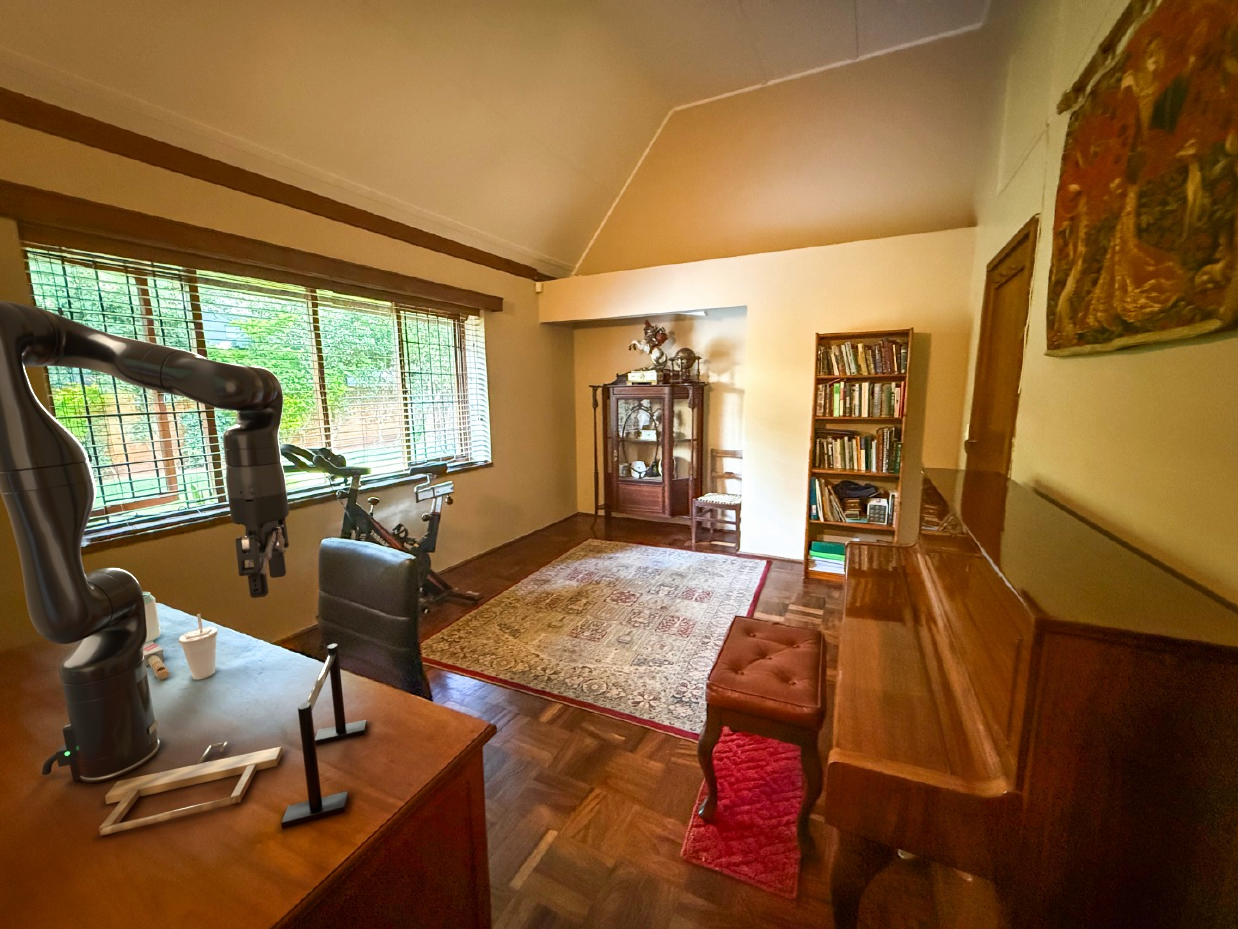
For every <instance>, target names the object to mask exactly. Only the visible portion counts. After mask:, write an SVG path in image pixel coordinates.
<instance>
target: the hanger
mask: <svg viewBox="0 0 1238 929" xmlns="http://www.w3.org/2000/svg"><path fill="white" fill-rule="evenodd" d="M228 745H229V742H228V741H224V742H223V741H222V742H220V743H214V744H209V745H208V746H207V748H206V749H205V751H204V753H203V754H202V756H201V757H199V759H198V761H197V763H196V764H193V765H192V764H191V765H188V766H184V767H178V768H174V769H170V770H164V771H159V772H155V773H150V774H146V775H141V776H136V777H132V778H127V779H122V780H118V781H117V782H116V783H115V784H114V785H113V786H112V788H111V789H110V790H109V791H108V792H107V793H106V794H105V795H104V799H105V804H106V805H109V804H114V803H118V802H119V803H118V804H117V805H116V807H115V808H113V810H112V812H111V813H110V814H109V815H108V816H107V818H106V819H105V820H104V821H103V822H102V824H101V825H100V826H99V827H98V831H99V835H100V836H107V835H110V834H114V833H118V832H122V831H127V830H131V829H135V828H139V827H143V826H148V825H152V824H156V823H159V822H164V821H169V820H174V819H177V818H181V817H185V816H190V815H194V814H198V813H201V812H206V811H209V810H215V809H218V808H223V807H227V806H231V805H234V804H237V803H241V801H242V799H243V797H244V796H245V794H246V791H247V789H248V788H249V786H250V784H251V782H252V780H253V778H254V776H255V774H256V772H257V771H262V770H266V769H269V768H270V769H271V768H274V767H278V764H279V762H280V760H281V758H282V755H283V752H284V751H283V746H277V747H272V748H268V749H262V750H259V751H258V750H257V751H254V752H249V753H244V754H239V755H235V756H231V757H225V758H220V759H216V760H212V761H207V762H204V761H205V759H206V758H207V757H208V755H209V753H210V752H211V750H212V749H217V748H220V749H219V753H223V752H224V751H225V749H226V748H227V746H228ZM238 775H241V776H240V778H239V780H238V782H237V784H236V786H235V787H234V790H233V791H232V792H231V795H230V797H225V798H220V799H216V800H212V801H207V802H203V803H200V804H195V805H191V806H187V807H182V808H179V809H174V810H170V811H166V812H162V813H157V814H153V815H148V816H145V817H141V818H136V819H132V820H127V821H123V822H121V821H122V820H123V818H124V817H125V816H126V815H127V813H128V812H129V811H130V809H131V808H132V807H133V805H134V804H135V803H136V801H137V800H138V799H139V797H140V798H141V797H145V796H149V795H155V794H158V793H162V792H167V791H172V790H175V789H181V788H184V787H189V786H194V785H198V784H203V783H207V782H211V781H216V780H220V779H225V778H230V777H234V776H238Z"/></svg>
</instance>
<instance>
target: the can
mask: <svg viewBox="0 0 1238 929" xmlns="http://www.w3.org/2000/svg"><path fill="white" fill-rule="evenodd" d="M142 592H143V597H144V604H145V615H146V626H147V639H146V642H145V643H148V642H151V641H152V642H154V641H155V640H156V639H157V638H159V637H160V636H161V632H162V631H161V628H160V621H159V620H160V619H159V614H158V609H157V603H156V597H155V596H153V595H152V594H151V592H150V591H142Z"/></svg>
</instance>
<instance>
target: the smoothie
mask: <svg viewBox="0 0 1238 929" xmlns="http://www.w3.org/2000/svg"><path fill="white" fill-rule="evenodd" d="M196 618H197V624H198V628H197V629H192V630H190V631H188V632H186V633H184V634H182V635H181V636H179V638H178V644H179V645H180V646H181V647H182V650H183V653H184V656H185V659H186V661H187V665H188V667H189V670H190V674H191V676H192V679H193V680H203V679H206V678H209V677H211V676H213V675H214V674H215V672H216V655H217V654H216V649H217V648H216V647H217V636H218V634H219V633H218V628H216V627H213V626H206V627H203V623H202V616H201V613H198V614H196Z"/></svg>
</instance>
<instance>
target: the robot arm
mask: <svg viewBox="0 0 1238 929" xmlns="http://www.w3.org/2000/svg"><path fill="white" fill-rule="evenodd" d="M25 367H26V368H35V367H37V368H38V367H63V368H73V369H83V370H89V371H95V372H99V373H102V374H106V375H108V376H111V377H113V378H115V379H118V380H120V381H122V382H125V383H127V384H130V385H132V386H136V387H139V388H142V389H147V390H151V391H155V392H159V393H164V394H167V395H168V394H169V395H172V396H176V397H177V396H178V397H183V398H187V399H189V400H191V401H194V402H197V403H199V404H202V405H205V406H208V407H211V408H214V409H219V410H223V411H224V410H225V411H229V412H236V419H235V420H236V421H235V424H234V425H233V426H231V427H230V428H228V429H226V430H225V431H224V432H223V435H222V446H223V452H224V453H223V454H224V460H225V469H226V470H225V484H226V492H227V499H228V506H229V507H228V508H229V513H230V521H231V522H232V523H233V524H235V525H242V526H244V528H245V531H244V532H245V534H244V535H243V536H239V537H236V538H235V540H234V541H235V549H236V550H235V551H236V559H237V560H236V561H237V568H238V576H240V577H247V582H248V588H249V590H248V591H249V596H250V598H251V599H257V598H265V597H266V596H267V595H268V594H269V584H268V575H267V572H266V571H267V565H268V570H269V577H270V578H272V579H275V578H276V579H277V578H282V577H285V576H286V575H287V567H286V558H285V555H286V554H287V549H288V548H289V545H290V543H289V537H288V536H289V535H288V529H287V522H286V518H287V517H288V516H289V514H290V509H289V500H288V492H287V483H286V475H285V471H284V467H283V463H282V456H281V448H280V440H279V432H280V428H281V423H282V415H283V408H284V391H283V387H282V384H281V382H280V380H279V378H278V377H277V375H276V374H275V373H274V372H272V371H271V370H269V369H268V368H265V367H262V366H257V365H246V364H233V363H228V362H222V361H217V360H212V359H208V358H206V357H204V356H202V355H200V354H197V353H195V352H191V351H189V350H183V349H180V348H176V347H171V346H166V345H163V344H158V343H153V342H150V341H144V340H140V339H134V338H129V337H124V336H120V335H117V334H112V333H109V332H105V331H103V330H99V329H96V328H93V327H91V326H87V325H85V324H82V323H79V322H78V321H75V320H72V319H71V318H68V317H64V316H62V315H60V314H58V313H55V312H52V311H50V310H47V309H44V308H41V307H39V306H36V305H31V304H26V303H22V302H21V303H20V302H16V301H15V302H14V301H9V300H3V299H0V495H1V498H2V501H3V503H4V506H5V508H6V509H5V510H6V511H7V515H8V518H9V522H10V525H11V528H12V532H13V535H14V540H15V543H16V547H17V551H18V556H19V561H20V567H21V572H22V573H21V574H22V581H23V588H24V594H25V595H24V596H25V602H26V607H27V608H26V609H27V612H28V616H29V618H30V621H31V623H32V625H33V628H34V629H35V630H36V631H37V633H38V634H40V636H41V637H43V638H44V639H45V640H47V641H49V642H51V643H54V644H59V645H69V644H74V643H77V644H76V645H75V647H74V648H73V649H72V650H71V651H70V652H69V653H68V654H67V656H65V657H64V658H63V659H62V661H61V662H60V664H59V668H58V669H59V670H58V671H59V676H60V681H61V685H62V691H63V696H64V700H65V705H66V710H67V715H68V716H67V717H68V720H69V722H68V723H67V724H66V725H64V726H63V728H62V734H63V738H64V740H63V741H64V744H63V745H62V746H61V747H59V748H58V749H57V750H56V751H55V753H53V754H52V755H50V756H49V757H48V758H47V759H46V760H45V761H44V763H43V765H42V770H41V775H42V776H48V775H50V774H51V772H52V768H53V765H54V763H55V761H57V765H58V768H62V767H65V766H69V770H70V773H71V774H70V775H71V778H72V782H78V781H81V782H83V783H88V784H89V783H91V784H93V783H101V782H105V781H109V780H112V779H115V778H118V777H120V776H123V775H126V774H128V773H129V772H132V771H134V770H135V769H137V768H139V767H141V766H142V765H144V764H145V763H147V762H148V761H150V760H151V759H152V758H153V757H154V756H155V755H156V754H157V753H158V751H159V750H160V747H161V743H160V740H159V735H158V732H157V727H159V723H158V719H156V718H155V713H154V707H153V701H152V695H151V689H150V683H149V678H148V671H147V666H146V665H145V659H144V653H143V647H144V645H145V642H146V639H147V626H146V615H145V604H144V597H143V592H144V591H143V589H142V587H141V585H140V583H139V581H138V580H137V578H136V577H134V575H133V574H132V573H130V572H128V571H127V570H125V569H121V568H119V567H118V568H117V567H105V568H100V569H96V570H93V571H90V572H88V573H85V569H84V564H83V560H82V542H83V537H84V534H85V531H86V527H87V526H88V523H89V520H90V518H91V515H92V512H93V509H94V506H95V503H96V497H97V484H96V481H95V476H94V473H93V470H92V467H91V466H92V465H91V463H90V459H89V456H88V453H87V450H86V449H85V448H84V446H83V445H82V444H81V442H80V441H79V440H78V439H77V438H76V437H75V436H74V435H73V434H72V433H71V432H70V431H69V430H68V429H67V427H65V426H64V425H63V424H62V423H61V422H59V421H58V420H57V419H56V418H55V416H53V415H52V414H51V413H50V412H49V411H48V410H47V409H46V408H45V407H44V406H43V405H42V403H41V402H40V401H39V399H38V397H37V396H36V394H35V392H34V390H33V388H32V385H31V383H30V380H29V378H28V375H27V372H26V368H25Z"/></svg>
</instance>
